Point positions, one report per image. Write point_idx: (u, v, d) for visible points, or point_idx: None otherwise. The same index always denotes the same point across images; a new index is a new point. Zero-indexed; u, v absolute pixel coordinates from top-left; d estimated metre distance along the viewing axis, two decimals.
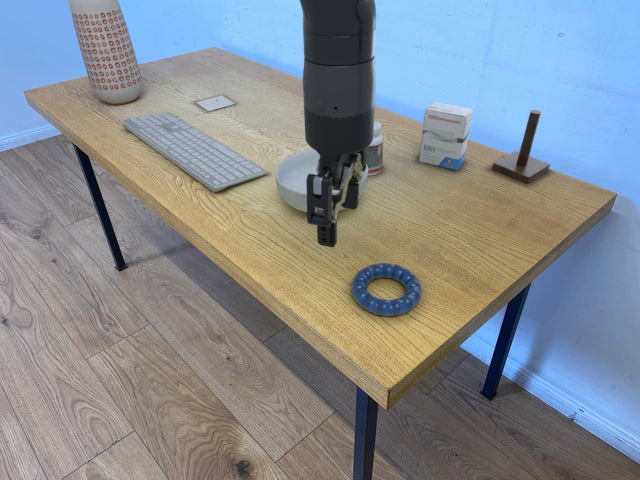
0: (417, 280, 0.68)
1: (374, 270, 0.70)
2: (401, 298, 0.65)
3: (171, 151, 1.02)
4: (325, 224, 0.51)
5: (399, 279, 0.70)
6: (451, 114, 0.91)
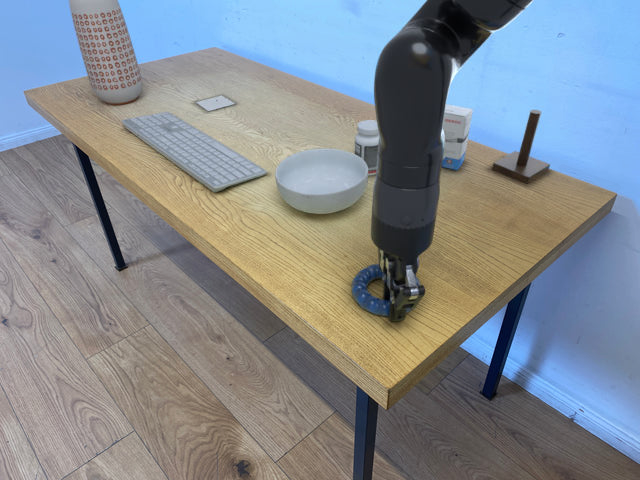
0: (417, 280, 0.68)
1: (374, 271, 0.70)
2: None
3: (171, 151, 1.02)
4: (413, 306, 0.59)
5: None
6: (451, 114, 0.91)
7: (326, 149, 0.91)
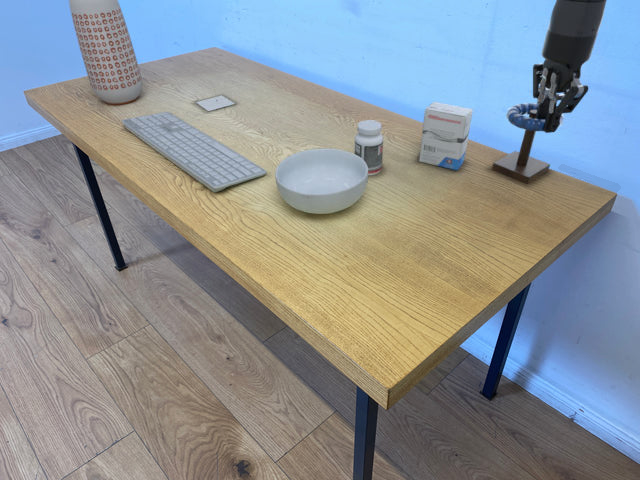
0: None
1: (522, 106, 0.91)
2: None
3: (171, 151, 1.02)
4: (570, 110, 0.81)
5: None
6: (451, 114, 0.91)
7: (326, 149, 0.91)
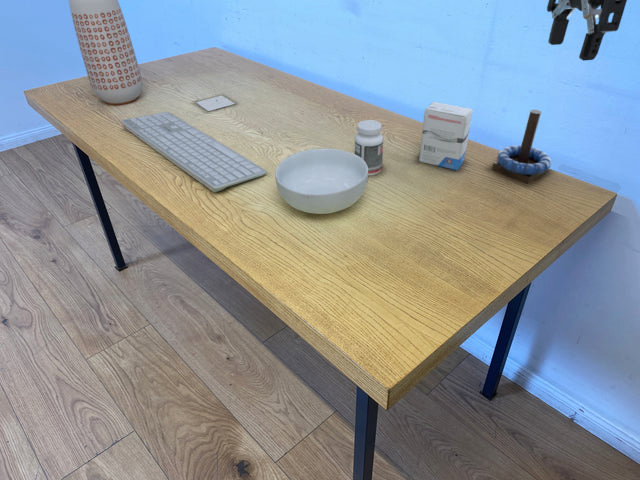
0: None
1: (512, 149, 0.96)
2: (539, 162, 0.92)
3: (171, 151, 1.02)
4: (616, 27, 0.65)
5: (531, 155, 0.96)
6: (451, 114, 0.91)
7: (326, 149, 0.91)
